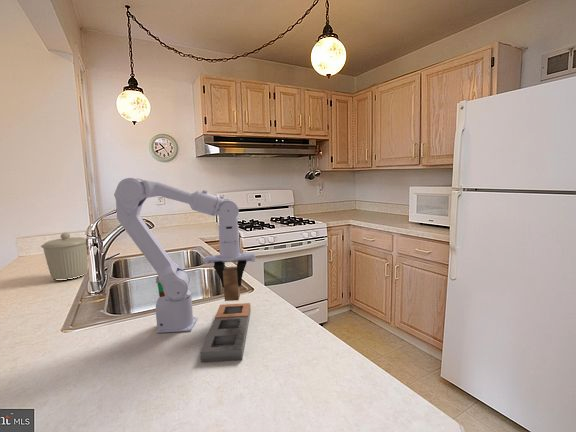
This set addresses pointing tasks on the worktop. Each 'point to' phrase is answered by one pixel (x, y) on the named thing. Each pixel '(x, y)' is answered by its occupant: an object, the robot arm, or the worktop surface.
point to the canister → (66, 256)
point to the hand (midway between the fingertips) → (232, 285)
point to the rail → (227, 334)
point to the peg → (231, 284)
